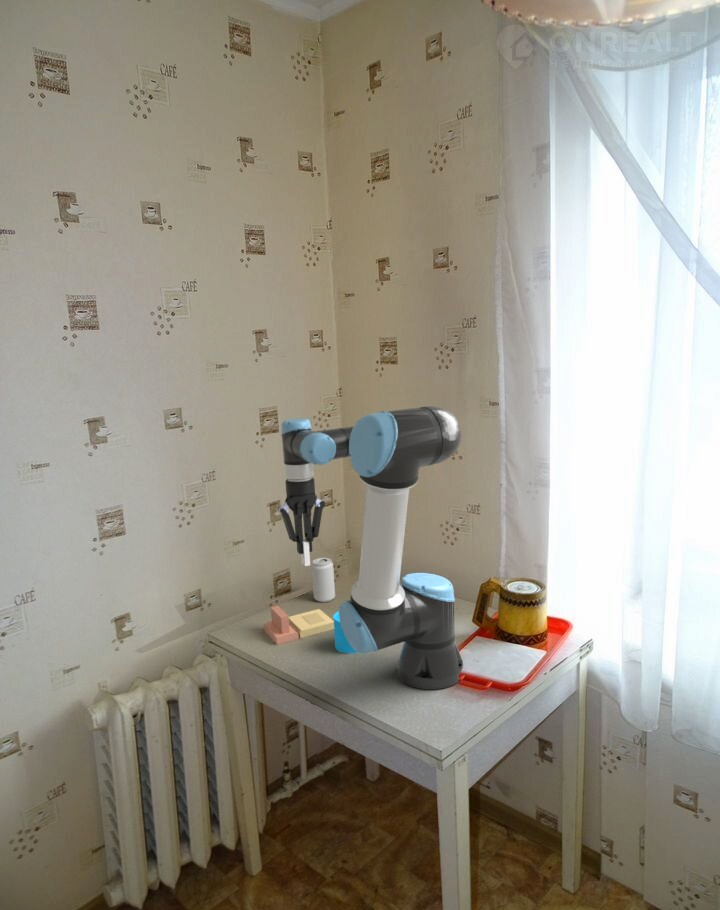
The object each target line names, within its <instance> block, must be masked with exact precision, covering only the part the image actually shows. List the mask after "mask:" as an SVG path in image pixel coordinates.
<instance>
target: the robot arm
mask: <svg viewBox="0 0 720 910" xmlns="http://www.w3.org/2000/svg"><path fill="white" fill-rule="evenodd" d="M462 437H463V436H462V428H461V424H460V422H459V421H458V419H457V417H456V416H455V415H454V414H453V413H452V412H450V411H449V410H448V409H445V408H443V407H439V406H433V405H429V406H427V405H426V406H421V407H412V408H405V409H395V410H389V411H387V410H380V411H377V412H375V413H369V414H366V415H363V416H362V417H361V418H359V419H358V420H357V421H356V423H355V424H354V425H352V426H346V427H337V428H330V429H323V430H313V429H312V425H311V421H310V420H309V419H308V418H303V417H301V418H289V419H286V420H283V421H282V423H281V442H282V452H283V455H282V456H283V464H284V478H285V479H286V480H285V493H286V496H285V497H286V498H285V501H284V502H285V503H284V504H283V505H281V506H278V507H277V511H278V512H279V514H280V515H281V517H282V521H283V523H284V526H285V527H284V528H285V530H286V532H287V536H288V538H289V540H291V541H292V542H294V543H295V542H296V551H297V553H298V554H299V555H300V563H301V565H303V566H304V567H309V566H311V555H310V553H312V552H313V542H314V539H315V538H318V537H319V533H320V526H321V523H322V522H321V520H322V515H323V509H324V508H325V505H326V502H325V501H324V500H323V499H319V498H318V497H317V494H316V487H315V486H316V484H315V478H314V476H315V471H314V465H319V466H323V465H327V464H328V463H330V462H331V461H332V460H338V459H339V460H341V459H344V458H350V463H351V466H352V468H353V470H354V471H355V472H356V474H358V475H359V479H360V481H361V482H362V483H363V484H364V485H365V495H364V497H365V498H364V506H363V507H364V508H363V509H364V510H363V519H362V520H363V521H362V523H363V524H362V535H361V536H362V537H361V551H360V560H359V561H360V562H359V574H358V575H359V576H358V577H359V578H358V580H357V581H355V582H354V583H353V584H352V586H351V590H350V599H349V600H344V601H343V602H341V603H340V604H339V606H338V611H339V619H340V623H341V627H342V630H343V632H344V635H345V637H346V639H347V641H348V642H349V644H350V645H351V647H352V648H353V649H354V650H355V651H357V652H356V653H359V654H368V653H373V652H374V653H375V652H377V651H379V650H382V649H386V648H388V647H392V646H395V645H398V644H400V643H403V644H402V649H401V652H400V655H399V659H398V662H397V675H398V677H399V679H400V680H401V681H402V682H403V683H404V684H406V685H408V686H410V687H413V688H417V689H422V690H442V689H445V688H449V687H452V686H455V685H456V684H457V683H459V682H460V681H459V675H460V673H461V671H462V669H463V666H464V661H463V658H462V656H461V654H460V650H459V648H458V645H457V642H456V630H455V629H456V627H455V622H456V621H455V619H456V618H455V602H456V601H455V600H456V599H455V591H454V585H453V583H451V581H450V580H448V579H447V578H446V577H444V576H441V575H438V574H433V573H427V572H413V573H407V574H405V575H403V576H402V578H401V570H402V562H403V551H404V541H405V534H406V533H405V531H406V524H407V523H406V522H407V514H408V503H409V495H410V489H411V488H414V486H415V485H417V484H418V482H419V481H418V480H419V473H420V469H421V468H424V467H427V466H428V467H429V466H433V465H437V464H440V463H442V462H444V461H446V460H448V459H451V457H452V456H454V454H455V453H456V452H457V451H458V449H459V447H460V444H461V441H462ZM314 506H315V507H314ZM313 507H314V509H313ZM289 509H290V511H291V512H292V514H293V519H294V523H292V520H291V517H290V515H289ZM312 509H313V515H312ZM293 524H294V526H293ZM303 532H304V533H303ZM400 578H401V579H400Z"/></svg>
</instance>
